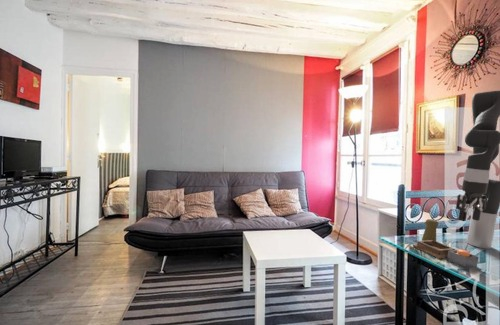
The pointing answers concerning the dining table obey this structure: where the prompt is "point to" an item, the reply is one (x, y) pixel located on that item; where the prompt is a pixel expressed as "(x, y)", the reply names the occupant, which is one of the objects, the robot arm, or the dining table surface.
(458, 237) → the dining table surface
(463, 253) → the button
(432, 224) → the khaki rounded elongated piece
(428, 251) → the crate
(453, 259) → the button housing
